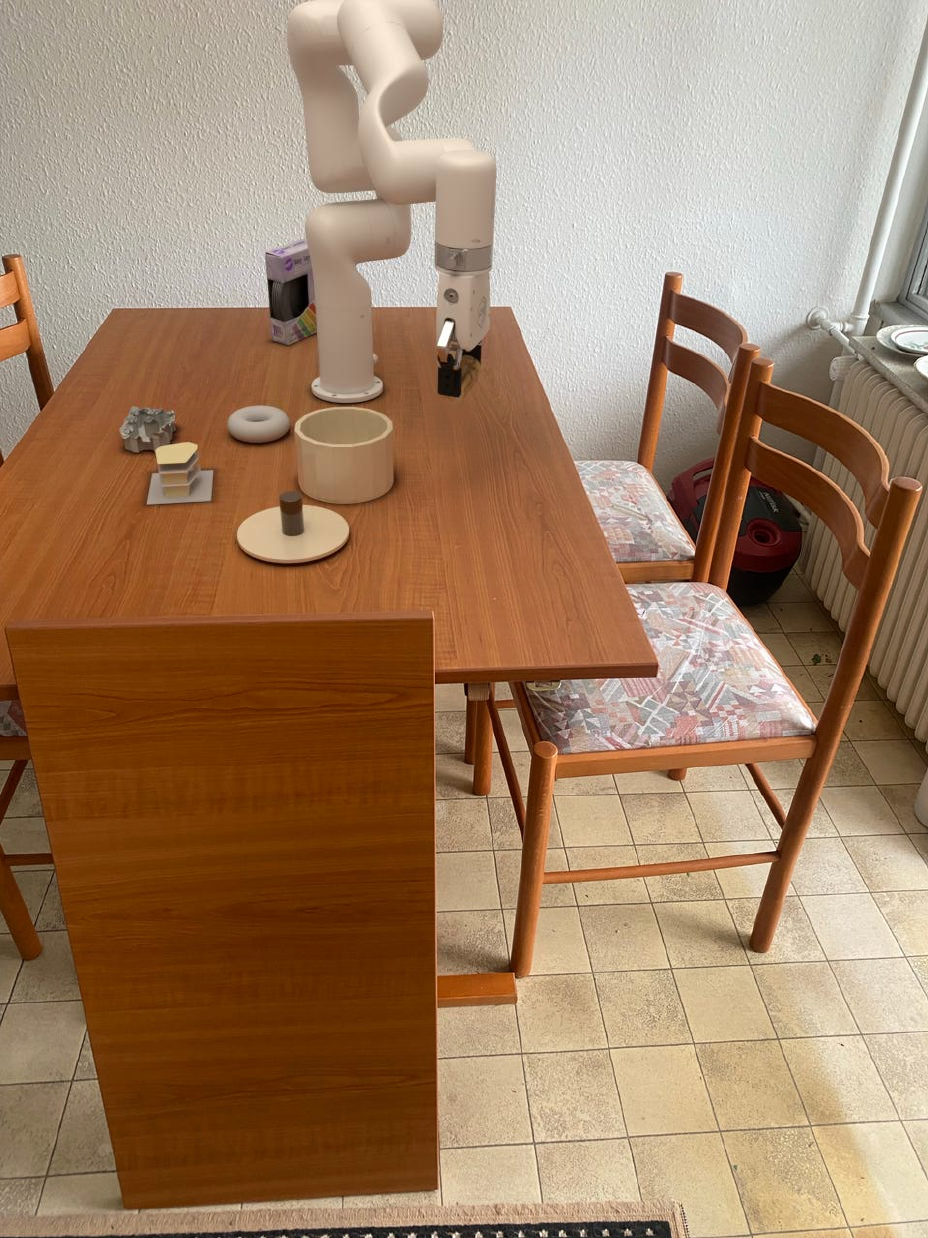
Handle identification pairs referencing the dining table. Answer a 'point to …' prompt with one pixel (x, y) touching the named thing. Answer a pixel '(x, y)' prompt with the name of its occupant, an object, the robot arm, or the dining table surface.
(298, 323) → the cake pan box
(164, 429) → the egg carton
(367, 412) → the crock
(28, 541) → the dining table surface
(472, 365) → the tan cylinder with hole
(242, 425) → the donut
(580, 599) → the dining table surface
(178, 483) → the stacked layers on plate
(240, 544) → the lid
